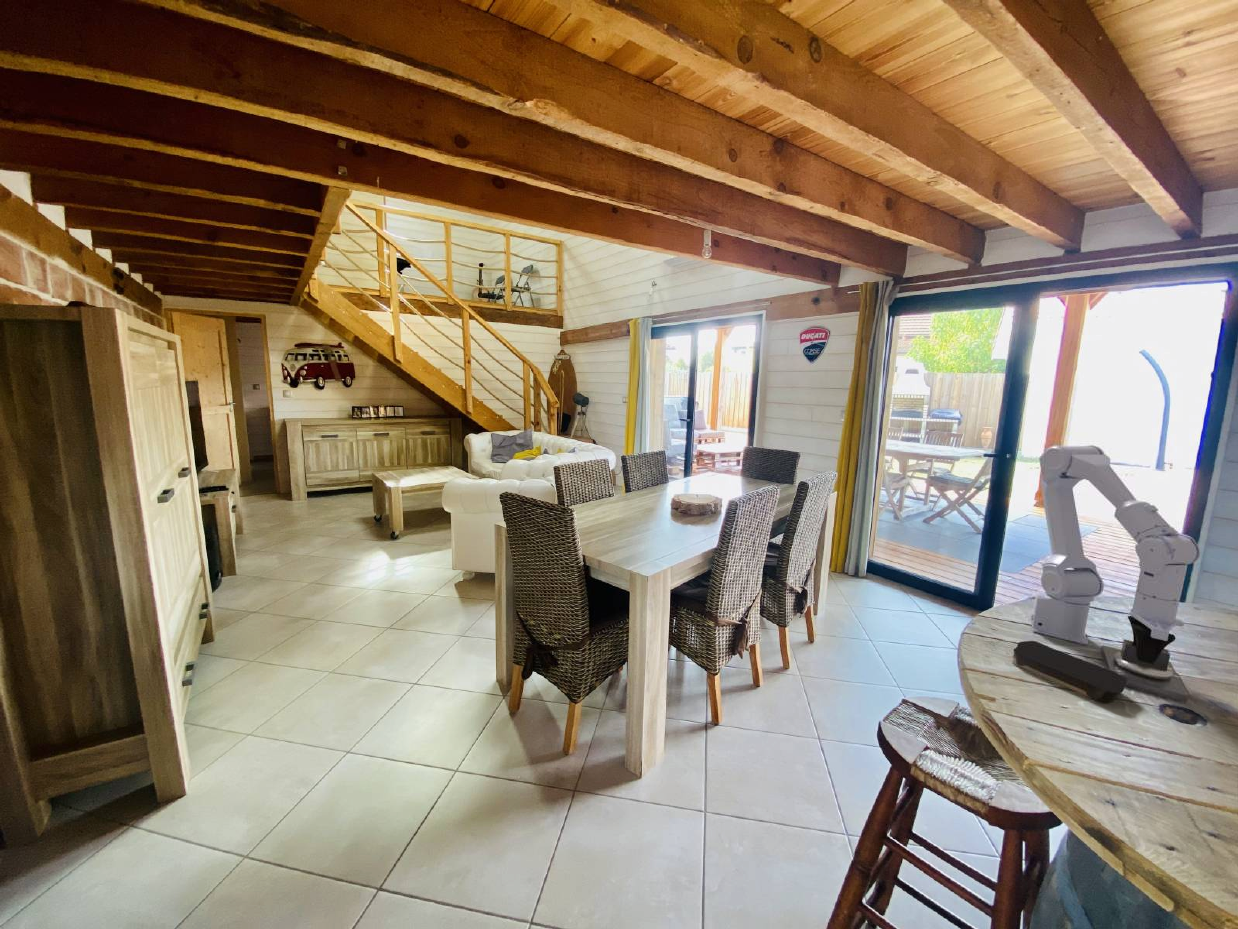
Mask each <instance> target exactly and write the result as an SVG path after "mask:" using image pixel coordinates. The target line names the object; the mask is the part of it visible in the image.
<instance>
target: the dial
mask: <svg viewBox="0 0 1238 929" xmlns="http://www.w3.org/2000/svg"><path fill="white" fill-rule="evenodd" d="M1120 650H1121V652H1116V653H1115V654H1114V661H1115V662H1116V663H1117V664H1118V665H1120V666H1122V667H1123V668H1125V669H1127V670H1130V671H1132V672H1135V673H1137V674H1140V675H1144V676H1147V677H1151V678H1157V679H1170V678H1172V675H1173V670H1172V668H1170V667H1169V666H1168V663H1169V662H1170V658H1171V653H1170V652H1169V650H1168V649H1166V648H1164V649H1163V651H1162V652H1161V653H1160V655H1159V657H1158V658H1157V660H1156V661H1155V663H1154V664H1150V663H1146V662H1142V661H1139V660H1138V658H1137V642H1134V641H1133V640H1129V639H1125V638H1124V639H1122V646H1121V649H1120Z"/></svg>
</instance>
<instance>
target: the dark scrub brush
mask: <svg viewBox="0 0 1238 929" xmlns="http://www.w3.org/2000/svg"><path fill="white" fill-rule="evenodd" d="M1012 664H1013V665H1015V666H1016V667H1018V668H1021V669H1023V670H1026V671H1027V672H1028V671H1029V672H1030V673H1033V674H1036V675H1037V676H1040V677H1042V678H1044V679H1047V680H1049V681H1051V682H1053V683H1055V684H1058V685H1059V686H1062V687H1065V688H1067V689H1069V690H1071V691H1074V692H1076V693H1077V694H1081V695H1083V696H1086V697H1087V698H1089V699H1090V700H1093V701H1096V702H1098V703H1102V704H1107V703H1111V702H1113V701H1115V699H1117V697H1118V695H1119V694H1120V693H1123V692H1124V690H1125V688H1126V686H1125V685H1126V683H1127V679H1126V678H1125V677H1124V676H1122V675H1120V674H1118V673H1116V672H1114V671H1111V670H1109V669H1106V667H1103V666H1100V665H1098V664H1095V663H1093V662H1089V661H1087V660H1085V659H1082V658H1080V657H1077V656H1073V655H1071V654H1068V653H1065V652H1064V651H1061V650H1058V649H1056V648H1053V647H1050V646H1048V645H1045V644H1043V643H1041V642H1038V641H1035V640H1024V641H1019V642H1018V643H1017V646H1016V647H1015V648H1014V649H1013V655H1012Z"/></svg>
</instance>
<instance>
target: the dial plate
mask: <svg viewBox="0 0 1238 929" xmlns="http://www.w3.org/2000/svg"><path fill="white" fill-rule="evenodd" d="M1121 650H1122V649H1119V648H1116V647H1111V646H1107V645H1103V644H1102V645H1101V650H1100V652H1101V657H1102V659H1103V662H1104V666H1105V668H1106V669H1109V670H1111V671H1114V672H1116V673H1118V674H1120V675H1122V676H1124V677H1125V678H1126V679H1127V683H1126V685H1125V687H1127V688H1128V687H1129V688H1131V689H1134V690H1138V691H1143V692H1146V693H1149V694H1153V695H1156V696H1159V697H1164V698H1167V699H1171V700H1174V701H1178V702H1181V703H1185V704H1188V702H1189V697H1190V695H1189V693H1188V692H1187V689H1186V688H1185V687H1184V684H1183V682H1182V681H1181V679H1180V677H1179V675H1178V673H1177V672H1176V670H1175V668H1174V666H1173V664H1172V662H1170V661H1169V663H1168V666H1169V667H1170V668H1172V670H1173V675H1172V678H1170V679H1157V678H1151V677H1147V676H1144V675H1140V674H1137V673H1135V672H1132V671H1130V670H1127V669H1125V668H1123V667H1122V666H1120V665H1118V664H1117V663H1116V662H1115V661H1114V654H1115V653H1116V652H1121Z"/></svg>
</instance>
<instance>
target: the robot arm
mask: <svg viewBox="0 0 1238 929" xmlns="http://www.w3.org/2000/svg"><path fill="white" fill-rule="evenodd" d="M1038 460H1039V465H1040V466H1039V467H1040V471H1041V476H1040V488H1041V496H1042V501H1043V507H1044V508H1043V509H1044V514H1045V518H1046V519H1045V520H1046V526H1047V530H1048V531H1047V533H1048V538H1049V544H1050V545H1049V546H1050V550H1051V556H1050V557H1049V558H1048V559H1047V560H1045V561H1044V562H1043V563H1042V564H1041V567H1042V573H1041V577H1040V583H1041V587H1042V589H1043V590H1044V591H1041V590H1036V593H1035V598H1034V603H1033V610H1032V612H1031V615H1030V620H1031V630H1032V632H1034V633H1038V634H1042V635H1045V636H1050V637H1053V638H1058V639H1061V640H1066V641H1069V642H1074V643H1076V644H1077V643H1078V644H1082V645H1087V646H1088V645H1089V642H1088V638H1087V637H1088V636H1087V634H1086V629H1087V628H1086V627H1087V623H1088V617H1089V612H1090V608H1091V607H1090V606H1091V602H1094V600H1095V597H1098V596H1100V595H1101V594H1102V593H1103V591H1104V588H1105V586H1104V581H1103V579H1102V576H1100V574H1099V572H1098V569H1097V565H1096V564H1095V563H1094V562H1093V561H1092V560H1090V559H1089V558H1088V557H1086V556H1085V552H1084V546H1083V541H1082V535H1081V530H1080V524H1079V523H1080V522H1079V518H1078V512H1077V507H1076V501H1075V494H1074V491H1073V488H1075V486H1076V485H1077V484H1078V483H1079V482H1082V481H1083V480H1085V481H1088V482H1090V484H1091V485H1092V486H1094V488H1096V490H1097V491H1098V492H1099V493H1100V494H1101V495H1103V497H1104V498H1105V499H1106V500H1107V501H1108V502H1109V503H1110V504H1111V505H1113V507H1114V508H1115V512H1114V518H1115V519H1116V520H1117V521H1118V523H1119V524H1120V525H1121V526H1122V527H1123V528H1124V529H1125V531H1126V532H1127V533H1128V534H1129V535H1130V536H1131V538H1132V539H1133V540H1134V541H1135V543H1137V544H1135V545H1134V549H1135V553H1136V555H1137V557H1138V559H1139V563H1138V567H1139V569H1140V570H1139V574H1138V580H1137V585H1136V590H1135V593H1134V599H1133V603H1132V608H1131V609H1130V611H1129V615H1127V619H1128V621H1129V623H1130V624H1129V625H1130V627H1131V631H1132V638H1133V640H1132V641H1134V642H1137V658H1138V660H1139V661H1142V662H1146V663H1150V664H1154V663H1155V661H1156V660H1157V658H1158V657H1159V655H1160V653H1161V652H1162V651H1163V649H1166V647H1167V646H1168V645H1170V644H1171V643H1173V642H1175V641H1176V635H1174V634H1172V633H1170V631H1171V630H1172V629H1174V627H1175V626H1176V627H1177V626H1178V627H1184V626H1185V621H1183V620H1182V619H1179V618H1177V614H1178V609H1179V604H1180V600H1181V596H1182V591H1183V588H1184V582H1185V578H1186V575H1187V570H1188V569H1187V568H1188V565H1192V564H1194V563H1195V562H1197V560H1199V558H1200V555H1201V549H1200V547H1199V545H1198V543H1197V542H1196V540H1195V539H1194V538H1193V537H1191V536H1189V535H1188V534H1183V533H1180V532H1179V531H1178V530H1176V529H1175V528H1174V527H1173V526H1171V525H1170V524H1169V523H1168V522H1167V521H1166V520H1165V519H1164V518H1163V517H1162V515H1160V514H1159V512H1158V511H1159V509H1158V507H1156V505H1155V504H1154V505H1153V504H1150V503H1149V502H1148V501H1147V502H1146V501H1140V500H1137V499H1136V497H1135V495H1133V493H1132V492H1131V491H1130V490H1129V488H1128V487H1127V486H1126V484H1125V483H1124V482H1123V481H1122V479H1121V478H1120V477H1119V476H1118V474H1117V473H1116V472H1115V470H1114V469H1113V468H1112V467H1111V458H1110V456H1108V455H1107V454H1105V451H1104V450H1103V449H1102V448H1100V447H1098V446H1095V445H1082V446H1081V445H1070V446H1069V445H1065V446H1063V445H1062V446H1061V445H1052V446H1049V447H1048V448H1047V449H1045V450H1044V451H1043V453H1042V454H1041V455H1040V456H1039V458H1038Z"/></svg>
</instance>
